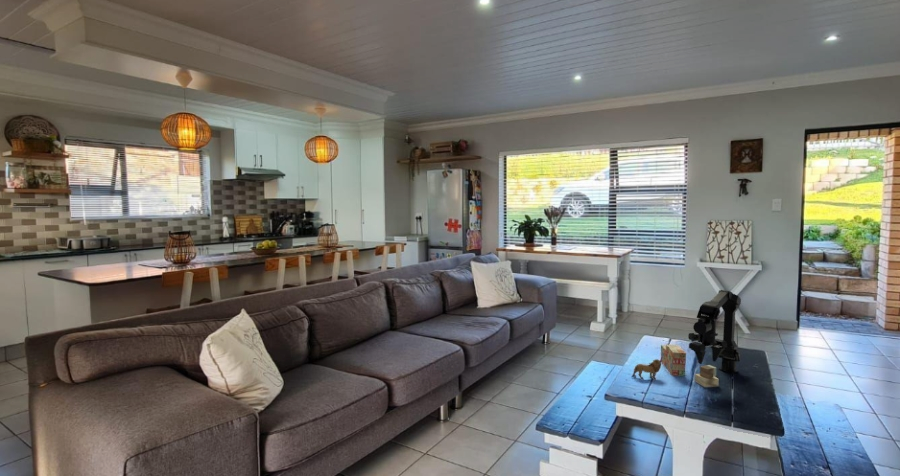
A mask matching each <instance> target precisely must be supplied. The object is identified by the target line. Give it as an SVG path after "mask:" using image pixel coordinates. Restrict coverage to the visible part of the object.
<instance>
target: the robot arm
mask: <svg viewBox="0 0 900 476" xmlns="http://www.w3.org/2000/svg"><path fill="white" fill-rule="evenodd" d="M741 304H742V299H741V297H740V296H739V295H737V294H735V293H733V292H732V291H730V290H725V289H720V290H718V293H717V294H716V295H715V296H714V297H713V298H712V299H711V300H710V301H705V302H702V304H701V305H700V307H699V308H698V312H697V315H696V318H697V319H698V320H697V321H696V322H695V323H693V326H692V328H693V331H694V332H695V333H694V332H688V335H687V336H688V337H687V338H688V340H689V341H691V342H689V344H688V349H690V350H692V352H694V353H695V355H696V359H697V361H698V364H699V365H702V363H703V361H704V358H705V355H706V352H707V351H706V348H709V347H710V348H711V351H712V353H711V354H712V359H711V360H712V362H714V363H715V362H717V359H718V358H721V367H718V370H720V371H723V372H725V373H728V374H734V373H738V372H739V370H738V369H736V368H737V362H741V354H740V351H739V350H738V344H737V343H736V341H735V329H736V328H735V327H736V326H735V325H736V312H737V311H738V310H739V309H740V306H741ZM721 308H722V311H723V312H724V315H723V336H722V338H723V339H720V338H716V337H717V336H718V335H719V334H718V333H717V331H716V330H717V320H718V318H719V316H720V314H721Z"/></svg>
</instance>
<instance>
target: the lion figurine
mask: <svg viewBox="0 0 900 476" xmlns="http://www.w3.org/2000/svg"><path fill="white" fill-rule="evenodd" d="M661 368H662V362H661V359H653V360H652V362H651V363H649V364H643V363H639V364H636V365H635V366H634V369H633V373H632V375H631V377H632V378H633V377H637V375H636V373H638V376H639V378H640V379H641V380H644V377H643V376H642V374H643V373H647V374H648V373H649V377H650V378H652V379H653V380H657V377H655V376H656V373H659V371H660V370H661Z"/></svg>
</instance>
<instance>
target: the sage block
mask: <svg viewBox="0 0 900 476" xmlns="http://www.w3.org/2000/svg"><path fill="white" fill-rule="evenodd" d="M707 366H709V367H712V368H714V373H713V376H714V377H717V367H716V366H713V365H711V364H708V365H707Z"/></svg>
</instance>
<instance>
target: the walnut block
mask: <svg viewBox="0 0 900 476" xmlns="http://www.w3.org/2000/svg"><path fill="white" fill-rule="evenodd" d="M713 373H714V368H712V367H709V366H707V365H701V366H699V374H700V376H702V377H705V378H707V379H708V378H712V377H713Z"/></svg>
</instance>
